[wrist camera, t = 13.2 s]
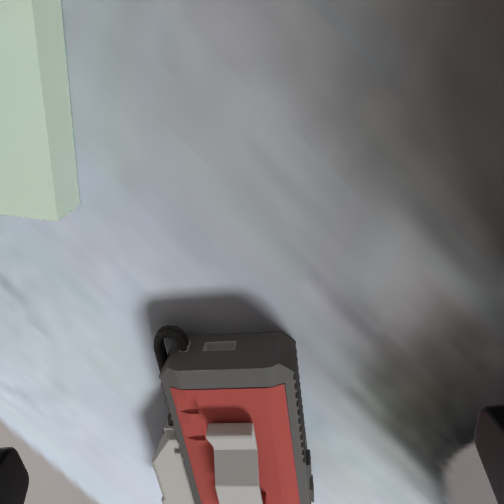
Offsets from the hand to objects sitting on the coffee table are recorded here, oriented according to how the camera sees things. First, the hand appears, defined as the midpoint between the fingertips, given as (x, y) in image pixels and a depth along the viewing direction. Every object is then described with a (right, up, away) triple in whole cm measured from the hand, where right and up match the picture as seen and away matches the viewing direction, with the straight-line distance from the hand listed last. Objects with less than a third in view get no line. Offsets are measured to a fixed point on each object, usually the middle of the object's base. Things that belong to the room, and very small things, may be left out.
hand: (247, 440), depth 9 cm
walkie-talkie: (-1, -8, +18) cm, 20 cm away
